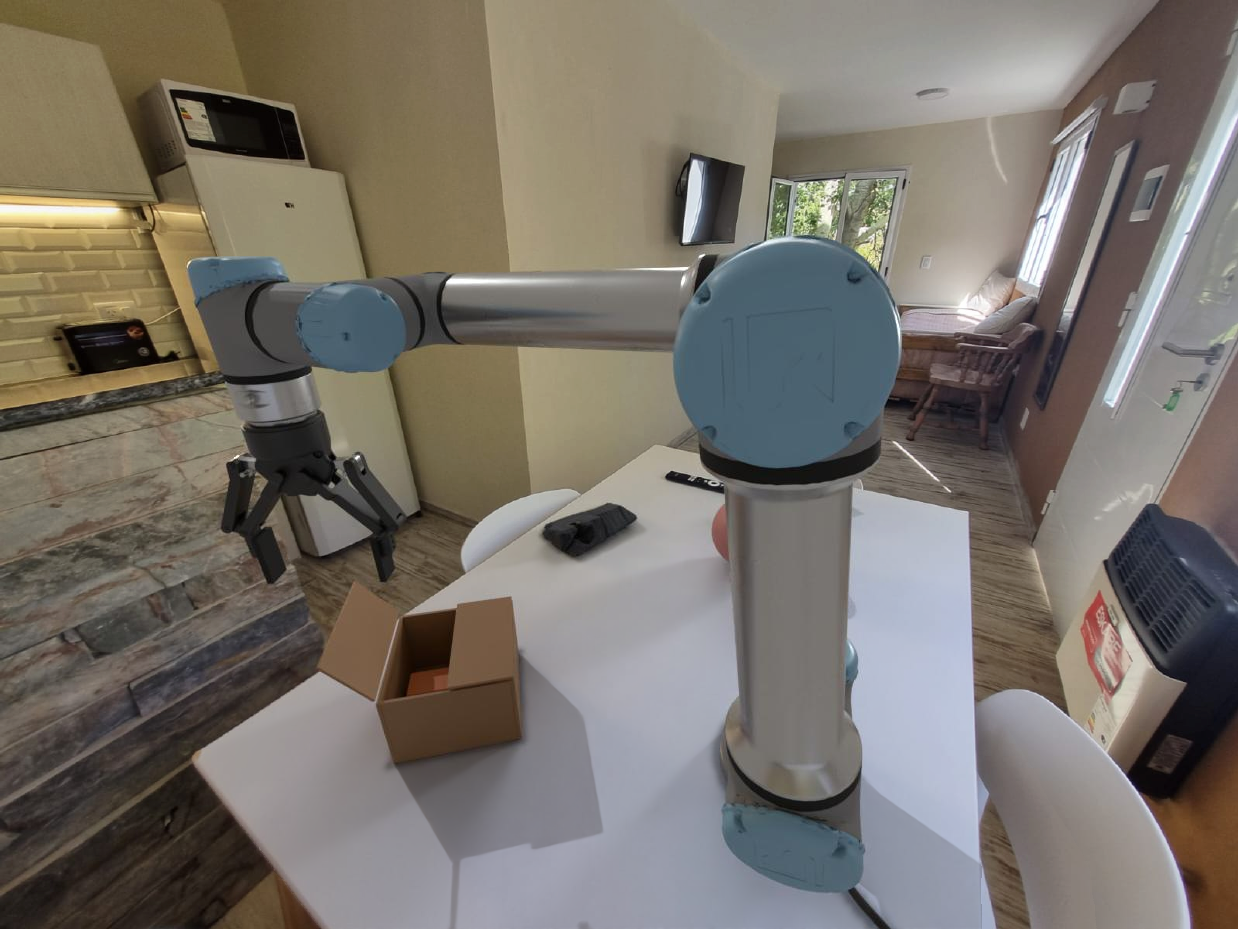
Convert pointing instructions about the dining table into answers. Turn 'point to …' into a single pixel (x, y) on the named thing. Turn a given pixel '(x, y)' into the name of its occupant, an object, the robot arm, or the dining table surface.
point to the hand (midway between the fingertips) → (332, 576)
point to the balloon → (720, 533)
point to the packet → (428, 681)
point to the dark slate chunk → (588, 527)
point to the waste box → (453, 681)
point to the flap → (360, 642)
